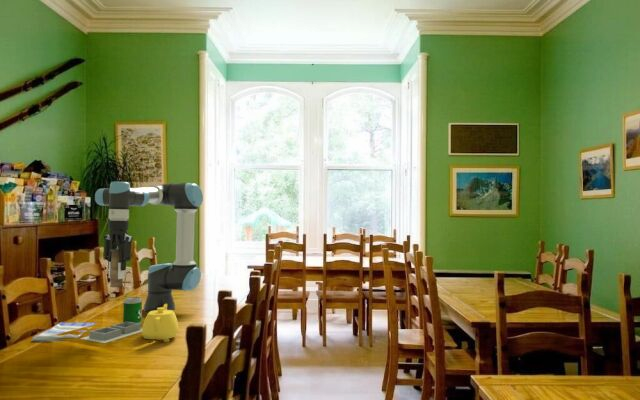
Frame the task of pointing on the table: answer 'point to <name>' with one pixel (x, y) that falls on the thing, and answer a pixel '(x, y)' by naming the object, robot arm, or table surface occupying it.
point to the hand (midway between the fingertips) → (116, 278)
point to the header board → (114, 332)
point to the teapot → (160, 324)
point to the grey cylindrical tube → (115, 269)
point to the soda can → (132, 310)
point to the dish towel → (61, 331)
